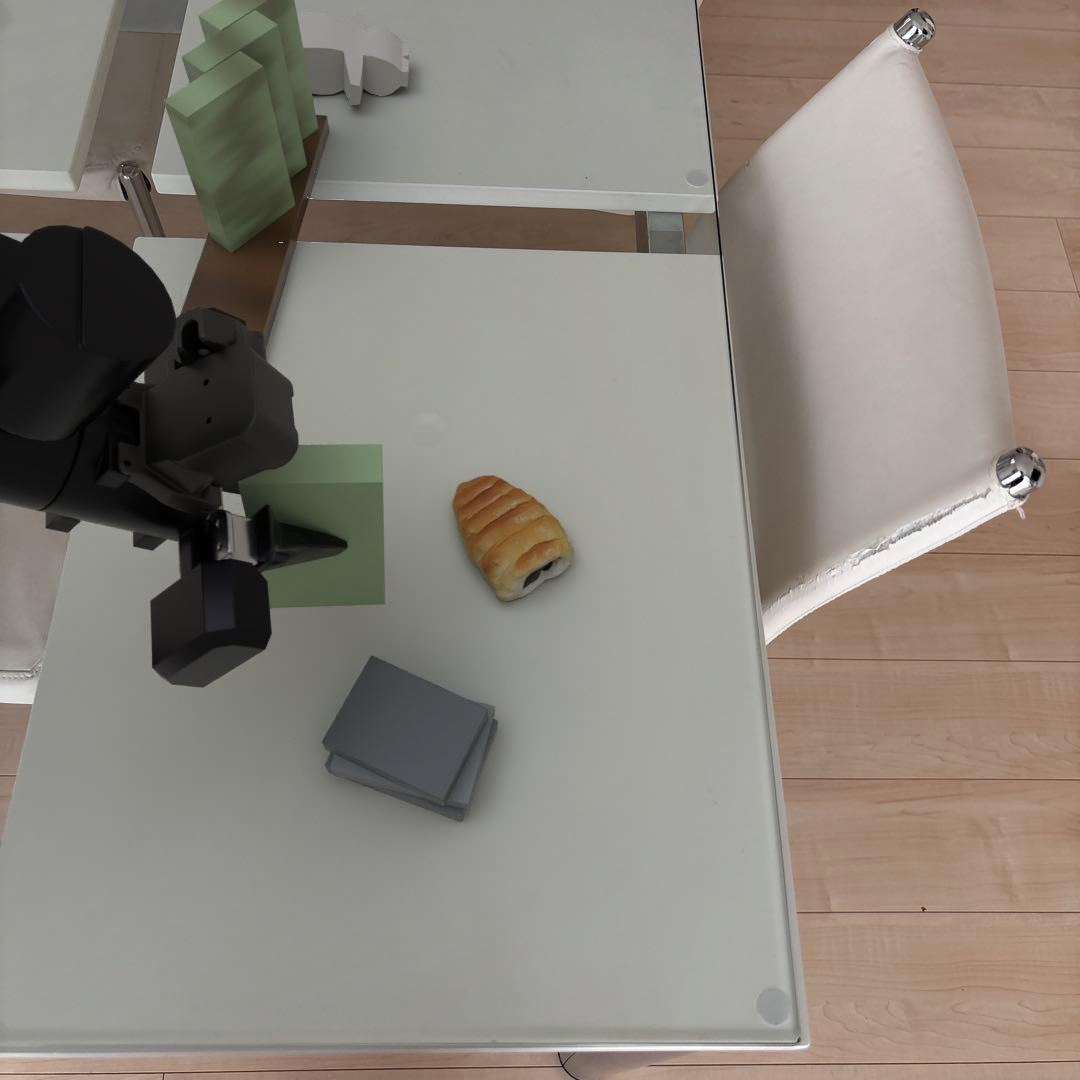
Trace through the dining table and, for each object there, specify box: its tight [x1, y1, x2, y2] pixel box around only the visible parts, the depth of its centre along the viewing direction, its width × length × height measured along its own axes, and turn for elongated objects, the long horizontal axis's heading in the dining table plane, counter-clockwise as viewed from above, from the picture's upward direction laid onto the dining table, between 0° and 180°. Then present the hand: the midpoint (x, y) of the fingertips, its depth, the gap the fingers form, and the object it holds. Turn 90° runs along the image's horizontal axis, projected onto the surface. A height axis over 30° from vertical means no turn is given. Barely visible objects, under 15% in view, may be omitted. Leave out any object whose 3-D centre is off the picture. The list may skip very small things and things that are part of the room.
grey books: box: [321, 655, 498, 823], centre depth 59 cm, size 9×7×5 cm
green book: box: [238, 443, 386, 609], centre depth 54 cm, size 7×2×13 cm, turn 95°
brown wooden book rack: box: [163, 0, 330, 347], centre depth 72 cm, size 29×7×14 cm, turn 174°
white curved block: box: [297, 10, 410, 106], centre depth 86 cm, size 10×5×15 cm
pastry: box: [451, 474, 574, 602], centre depth 67 cm, size 9×7×4 cm
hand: (340, 525), depth 53 cm, fingers closed on green book, 3 cm apart
